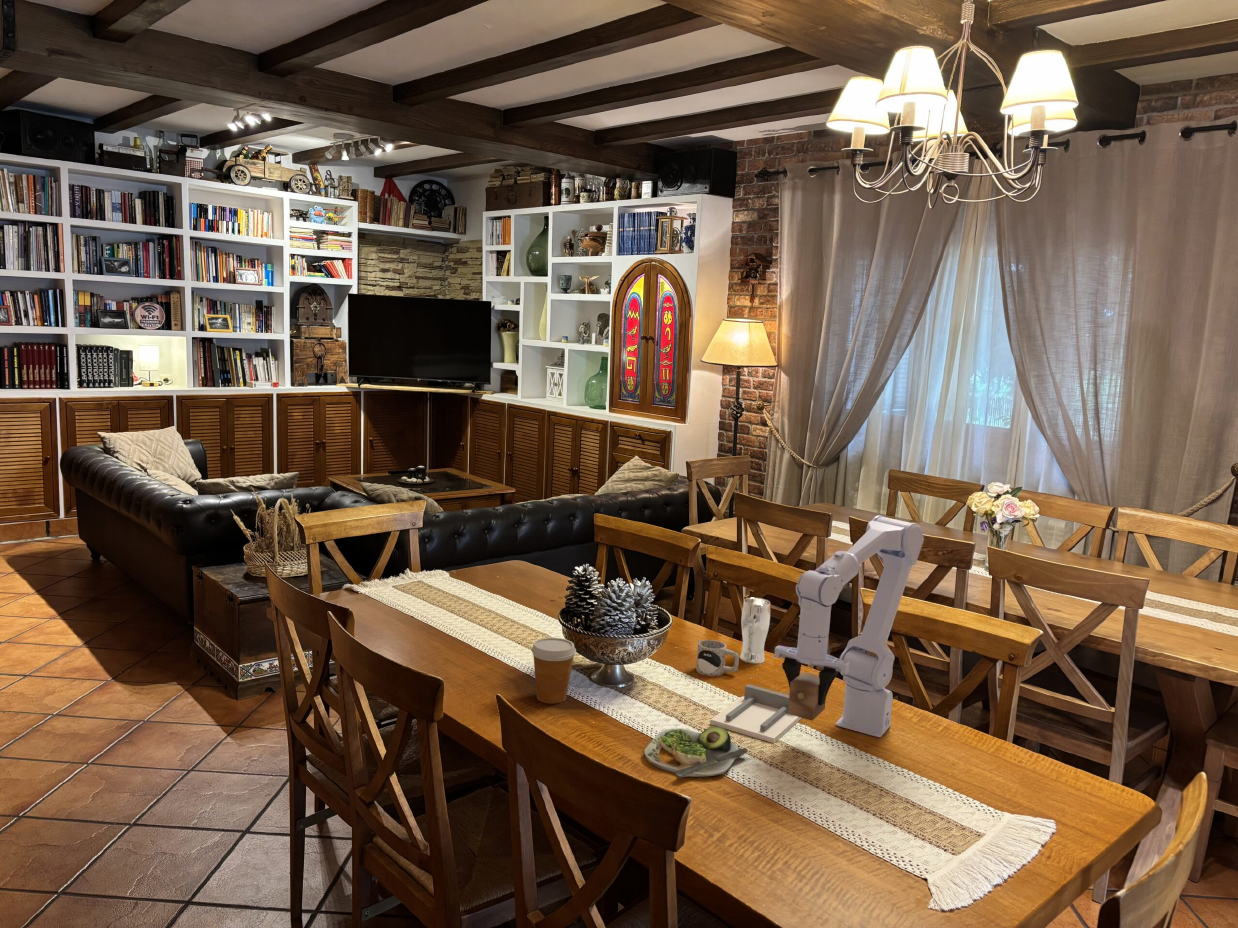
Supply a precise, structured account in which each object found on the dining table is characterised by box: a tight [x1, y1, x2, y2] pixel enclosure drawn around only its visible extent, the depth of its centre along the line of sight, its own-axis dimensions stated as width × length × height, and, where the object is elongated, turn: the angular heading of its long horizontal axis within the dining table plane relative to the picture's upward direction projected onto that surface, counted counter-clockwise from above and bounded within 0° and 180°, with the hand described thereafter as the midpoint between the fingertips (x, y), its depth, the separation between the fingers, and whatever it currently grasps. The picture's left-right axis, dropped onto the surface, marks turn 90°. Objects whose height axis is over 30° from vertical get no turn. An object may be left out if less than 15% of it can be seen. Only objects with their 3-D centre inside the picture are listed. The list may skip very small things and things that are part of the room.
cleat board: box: [709, 683, 802, 744], centre depth 190 cm, size 14×16×4 cm
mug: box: [695, 639, 740, 677], centre depth 216 cm, size 10×7×7 cm, turn 71°
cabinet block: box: [788, 671, 827, 721], centre depth 178 cm, size 5×8×6 cm, turn 148°
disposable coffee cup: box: [531, 637, 577, 705], centre depth 195 cm, size 10×10×12 cm
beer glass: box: [739, 597, 771, 665], centre depth 226 cm, size 7×7×15 cm
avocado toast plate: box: [643, 726, 749, 778], centre depth 170 cm, size 19×18×5 cm
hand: (807, 699), depth 178 cm, fingers closed on cabinet block, 5 cm apart
